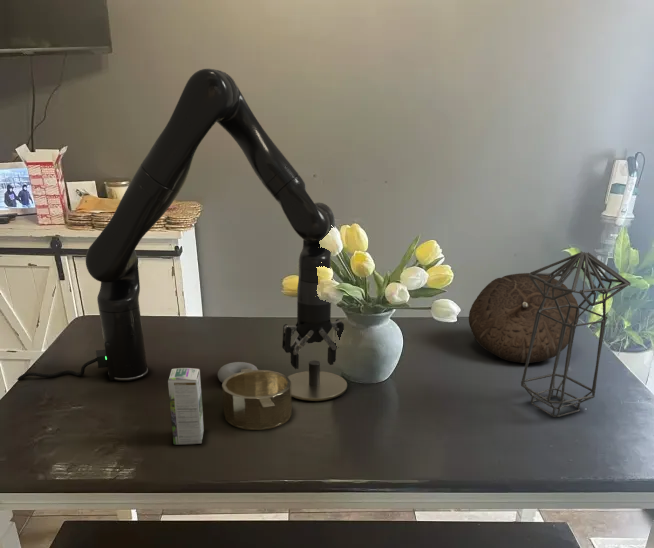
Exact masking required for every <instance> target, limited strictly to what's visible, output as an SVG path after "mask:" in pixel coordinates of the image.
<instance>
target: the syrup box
mask: <svg viewBox="0 0 654 548" xmlns="http://www.w3.org/2000/svg"><path fill="white" fill-rule="evenodd" d="M201 382H202V381H201V369H200V368H193V367H178V368H177V367H176V368H171V370H170V373H169V378H168V380H167V386H168V395H169V396H168V399H169V408H170V420H171V430H172V442H173V445H175V446H176V445H201V444H202V443H203V438H204V432H205V427H204V424H205V423H204V411H203V396H202V383H201Z"/></svg>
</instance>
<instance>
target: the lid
mask: <svg viewBox="0 0 654 548" xmlns="http://www.w3.org/2000/svg"><path fill="white" fill-rule="evenodd" d="M287 377H288V378H289V380H290V381H291V396H292V398H295V399H297V400H302V401H310V402H311V401H315V402H319V401H328V400H332V399H335V398H338V397H340V396H342V395H343V394H345V392H346V391H347V389H348V383H347V380H346V379H345V378H344V377H342V376H341V375H338V374H336V373H333V372H329V371H323V370H321V362H320V361H319V360H310V361H309V362H308V370H305V371H300V372H296V373H295V372H294V373H292V374H289V375H288V376H287Z"/></svg>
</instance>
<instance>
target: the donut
mask: <svg viewBox="0 0 654 548" xmlns="http://www.w3.org/2000/svg"><path fill="white" fill-rule="evenodd" d="M250 368H251V369H252V370H259V369H258V368H257V366H256V365H254V364H253V363H250V362H244V361H234V362H229V363H226V364H224V365H222V366H221V367H220V368H219V369H218V371H217V378H218V380H219V382H220V383H222V384H223V382H224V380H225V379H226V378H228V377H229V376H231V375H233V374H236V373H239V372H241V370H242V369H250Z"/></svg>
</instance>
